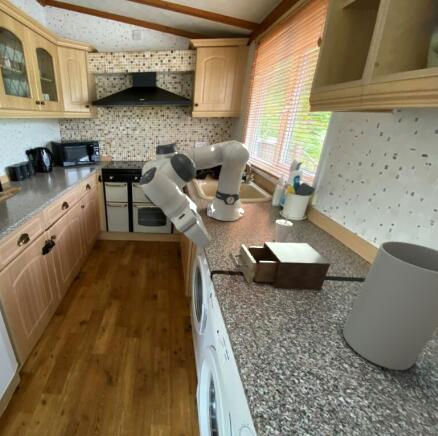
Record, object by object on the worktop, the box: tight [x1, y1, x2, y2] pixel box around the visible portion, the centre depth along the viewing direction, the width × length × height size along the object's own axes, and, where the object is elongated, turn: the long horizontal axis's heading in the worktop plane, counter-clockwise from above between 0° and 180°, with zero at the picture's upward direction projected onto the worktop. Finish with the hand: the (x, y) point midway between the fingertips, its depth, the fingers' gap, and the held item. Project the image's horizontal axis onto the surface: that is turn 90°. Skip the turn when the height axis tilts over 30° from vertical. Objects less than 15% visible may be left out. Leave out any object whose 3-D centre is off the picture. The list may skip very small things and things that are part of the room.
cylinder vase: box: [342, 240, 438, 371], centre depth 53 cm, size 12×12×25 cm
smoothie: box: [273, 212, 294, 243], centre depth 102 cm, size 6×6×14 cm
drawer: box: [228, 244, 280, 284], centre depth 81 cm, size 18×11×8 cm, turn 88°
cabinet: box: [262, 241, 331, 290], centre depth 81 cm, size 15×13×10 cm
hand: (210, 240), depth 78 cm, fingers closed
